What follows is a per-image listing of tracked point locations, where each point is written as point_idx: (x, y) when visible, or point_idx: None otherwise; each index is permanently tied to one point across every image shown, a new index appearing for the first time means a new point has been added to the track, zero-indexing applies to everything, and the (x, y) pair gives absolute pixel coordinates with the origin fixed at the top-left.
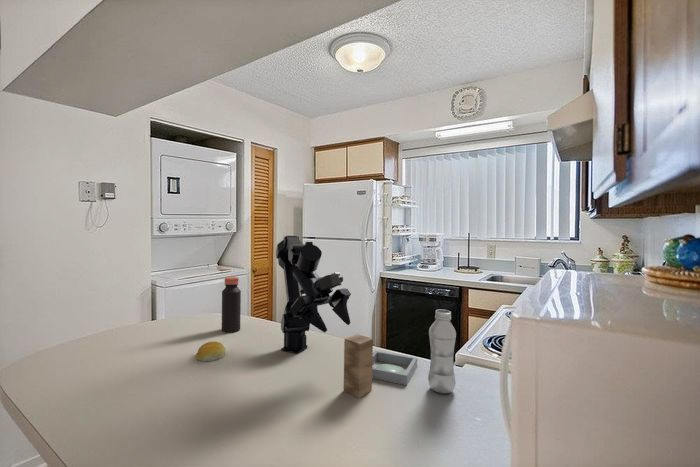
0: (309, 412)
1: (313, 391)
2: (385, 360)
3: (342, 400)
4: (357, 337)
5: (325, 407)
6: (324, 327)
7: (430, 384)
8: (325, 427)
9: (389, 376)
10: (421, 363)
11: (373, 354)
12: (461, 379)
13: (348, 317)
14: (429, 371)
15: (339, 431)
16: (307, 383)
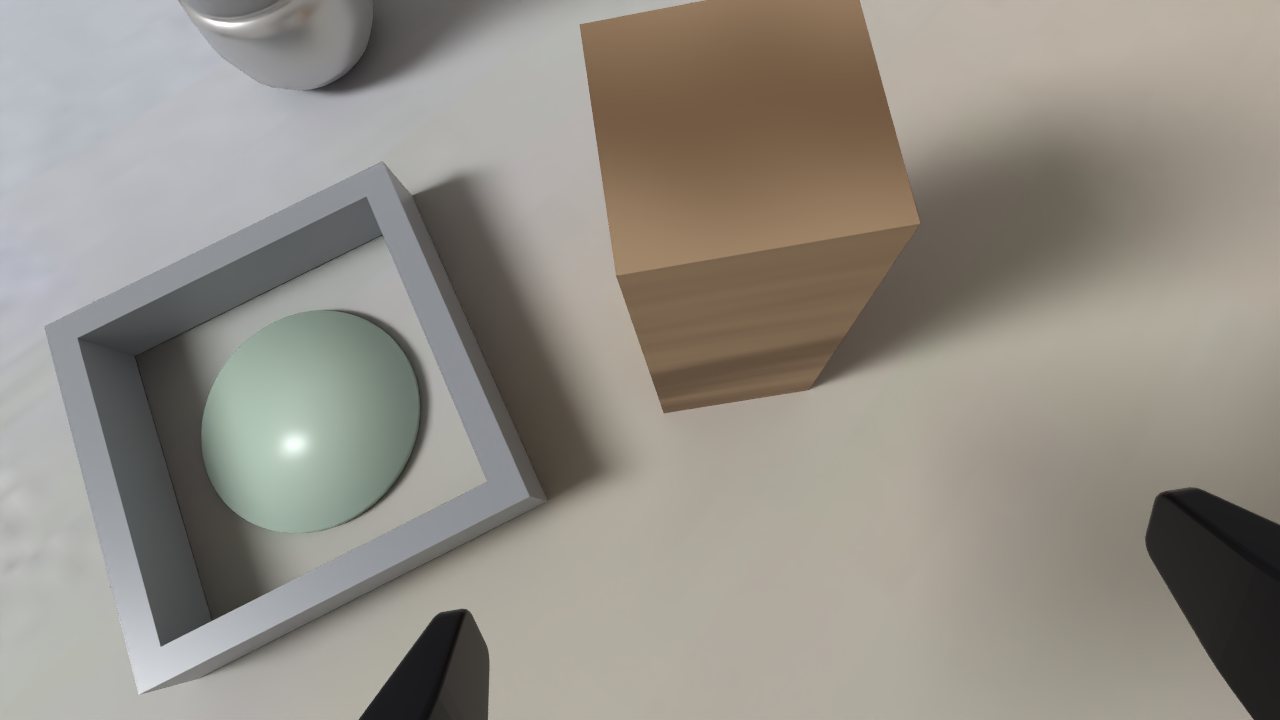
0: (1166, 303)
1: (1008, 521)
2: (187, 563)
3: (893, 294)
4: (718, 164)
5: (1041, 291)
6: (1264, 519)
7: (359, 30)
8: (1148, 129)
9: (443, 282)
10: (38, 359)
11: (233, 627)
12: (104, 60)
13: (398, 703)
14: (296, 1)
15: (1095, 63)
16: (986, 670)
